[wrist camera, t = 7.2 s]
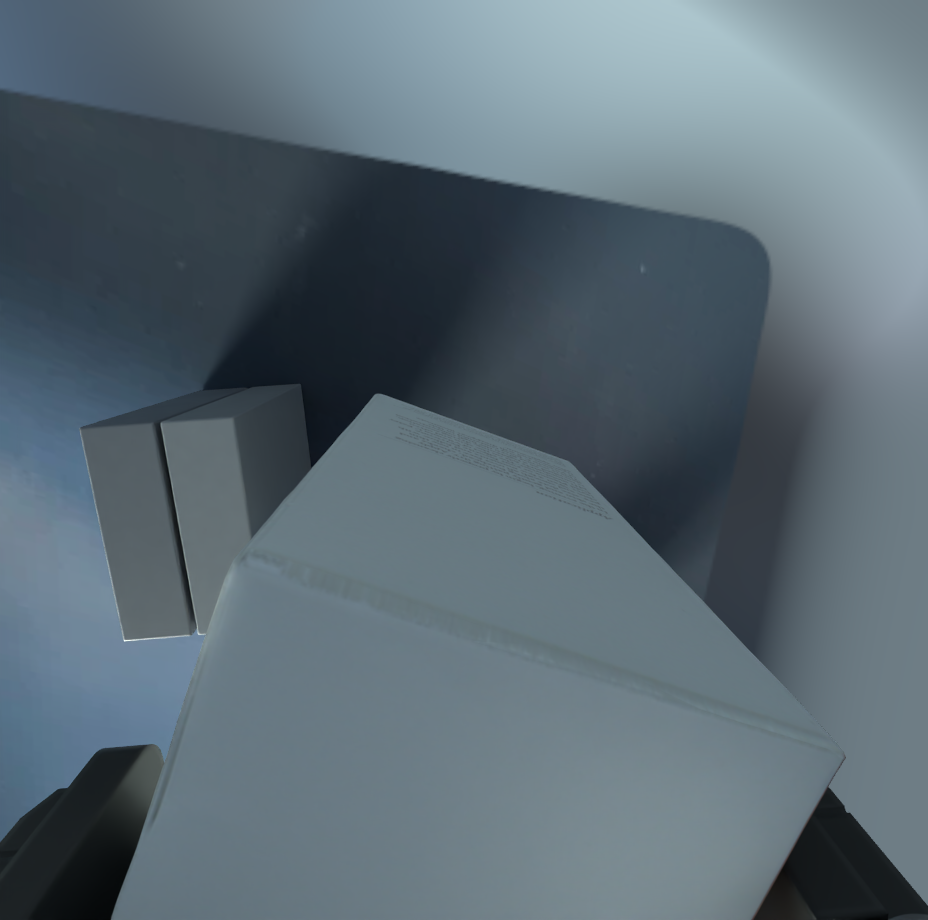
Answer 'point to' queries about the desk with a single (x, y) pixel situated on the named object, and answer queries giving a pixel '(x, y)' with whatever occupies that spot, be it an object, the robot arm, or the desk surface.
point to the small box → (469, 709)
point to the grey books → (190, 496)
